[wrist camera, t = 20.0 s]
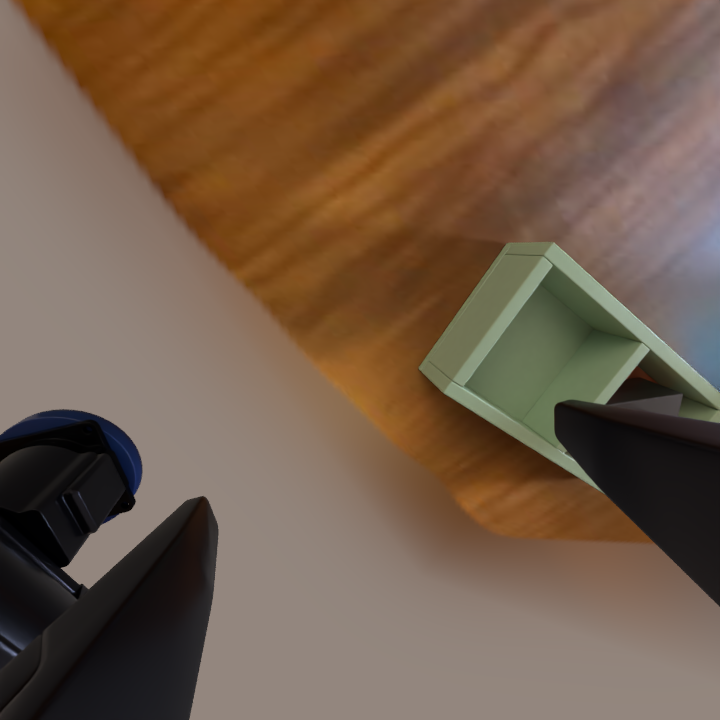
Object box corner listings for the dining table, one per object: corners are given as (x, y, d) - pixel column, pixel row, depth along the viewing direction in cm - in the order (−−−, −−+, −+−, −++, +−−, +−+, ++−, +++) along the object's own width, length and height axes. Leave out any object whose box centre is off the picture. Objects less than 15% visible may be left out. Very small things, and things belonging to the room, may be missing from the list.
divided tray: (590, 478, 28) (637, 515, 24) (417, 368, 23) (442, 393, 19) (671, 382, 27) (735, 405, 23) (506, 242, 21) (553, 241, 17)
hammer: (561, 439, 25) (810, 619, 13) (567, 386, 24) (849, 530, 12) (630, 428, 26) (926, 588, 14) (640, 376, 25) (973, 501, 13)
